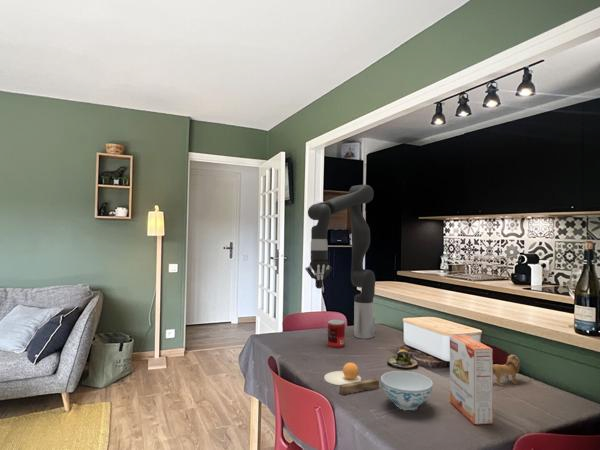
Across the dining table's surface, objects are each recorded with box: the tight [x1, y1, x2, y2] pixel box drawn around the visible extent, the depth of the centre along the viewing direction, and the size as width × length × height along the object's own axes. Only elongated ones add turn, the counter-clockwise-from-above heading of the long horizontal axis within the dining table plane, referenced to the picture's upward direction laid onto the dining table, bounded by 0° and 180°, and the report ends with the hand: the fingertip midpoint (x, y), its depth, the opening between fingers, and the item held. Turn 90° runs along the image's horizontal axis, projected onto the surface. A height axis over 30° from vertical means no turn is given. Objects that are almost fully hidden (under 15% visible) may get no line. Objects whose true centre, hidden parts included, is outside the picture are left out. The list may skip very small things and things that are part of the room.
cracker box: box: [449, 334, 494, 425], centre depth 111 cm, size 14×6×21 cm, turn 5°
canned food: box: [327, 319, 346, 349], centre depth 176 cm, size 8×8×11 cm
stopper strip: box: [338, 378, 380, 396], centre depth 127 cm, size 14×2×2 cm, turn 114°
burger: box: [386, 348, 419, 369], centre depth 151 cm, size 12×12×8 cm
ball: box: [342, 362, 360, 379], centre depth 136 cm, size 6×6×6 cm
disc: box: [324, 370, 362, 386], centre depth 137 cm, size 13×13×1 cm
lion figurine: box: [493, 354, 521, 387], centre depth 133 cm, size 15×5×9 cm, turn 116°
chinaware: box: [380, 370, 433, 411], centre depth 116 cm, size 15×15×8 cm
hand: (318, 288), depth 170 cm, fingers closed
